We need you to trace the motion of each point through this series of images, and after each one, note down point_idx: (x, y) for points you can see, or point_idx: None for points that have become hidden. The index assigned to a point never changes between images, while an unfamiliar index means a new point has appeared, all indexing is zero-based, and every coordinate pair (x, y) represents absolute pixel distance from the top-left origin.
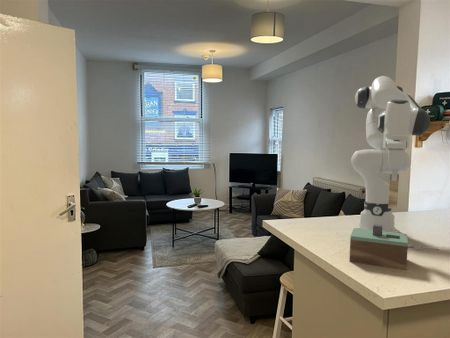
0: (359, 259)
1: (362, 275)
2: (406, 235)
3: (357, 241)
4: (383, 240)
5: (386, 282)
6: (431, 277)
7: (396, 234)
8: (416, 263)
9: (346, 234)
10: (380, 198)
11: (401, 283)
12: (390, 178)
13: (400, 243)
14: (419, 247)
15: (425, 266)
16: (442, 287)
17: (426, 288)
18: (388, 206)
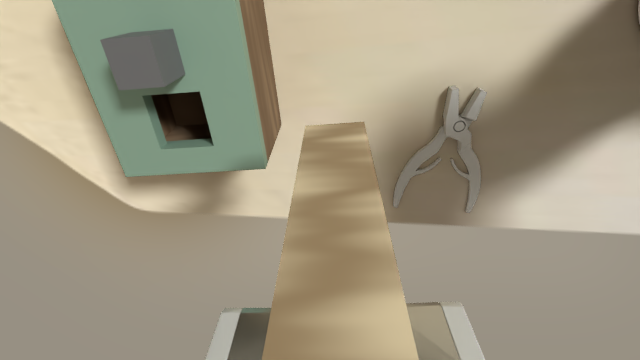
0: None
1: (42, 7)
2: (239, 169)
3: None
4: (90, 89)
5: (52, 86)
6: (188, 187)
7: (229, 133)
8: (283, 155)
9: None
10: None
11: (81, 123)
12: (275, 313)
13: (118, 151)
14: (464, 162)
15: (270, 176)
16: (136, 206)
17: (100, 176)
18: (305, 132)
